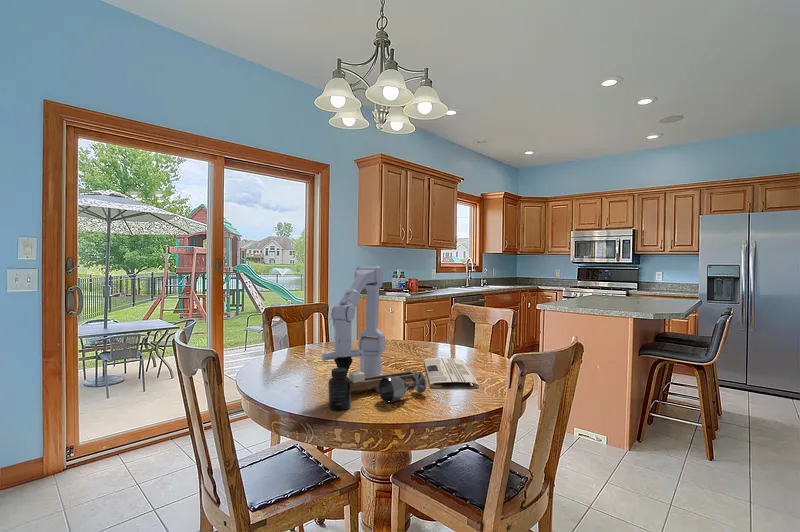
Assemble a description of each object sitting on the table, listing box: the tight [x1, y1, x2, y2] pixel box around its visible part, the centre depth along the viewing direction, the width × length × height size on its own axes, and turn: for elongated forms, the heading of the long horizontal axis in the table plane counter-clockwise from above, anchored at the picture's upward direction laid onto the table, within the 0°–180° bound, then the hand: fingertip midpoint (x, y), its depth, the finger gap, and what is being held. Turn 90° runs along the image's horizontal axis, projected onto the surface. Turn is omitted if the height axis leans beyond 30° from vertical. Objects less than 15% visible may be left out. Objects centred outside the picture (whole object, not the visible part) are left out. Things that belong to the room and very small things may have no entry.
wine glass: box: [378, 371, 427, 404], centre depth 135 cm, size 8×8×15 cm
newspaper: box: [423, 357, 480, 389], centre depth 164 cm, size 37×19×3 cm, turn 0°
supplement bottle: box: [327, 367, 352, 412], centre depth 126 cm, size 7×7×12 cm
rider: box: [348, 370, 365, 383], centre depth 140 cm, size 4×4×4 cm
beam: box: [350, 370, 416, 393], centre depth 144 cm, size 6×28×4 cm, turn 117°
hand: (343, 379), depth 138 cm, fingers closed
